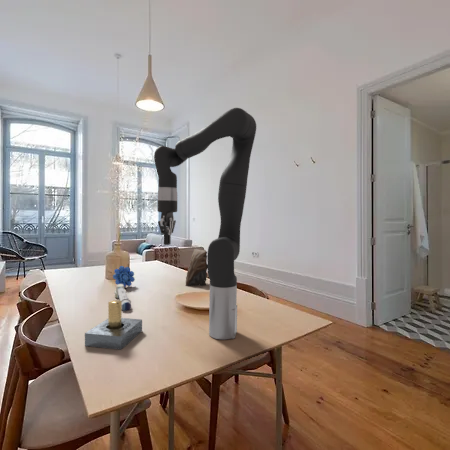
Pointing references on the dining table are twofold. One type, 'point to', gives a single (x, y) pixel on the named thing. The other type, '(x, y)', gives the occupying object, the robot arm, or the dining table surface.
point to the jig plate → (113, 334)
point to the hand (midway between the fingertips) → (167, 244)
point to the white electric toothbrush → (122, 297)
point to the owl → (197, 269)
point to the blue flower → (123, 276)
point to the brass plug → (115, 314)
